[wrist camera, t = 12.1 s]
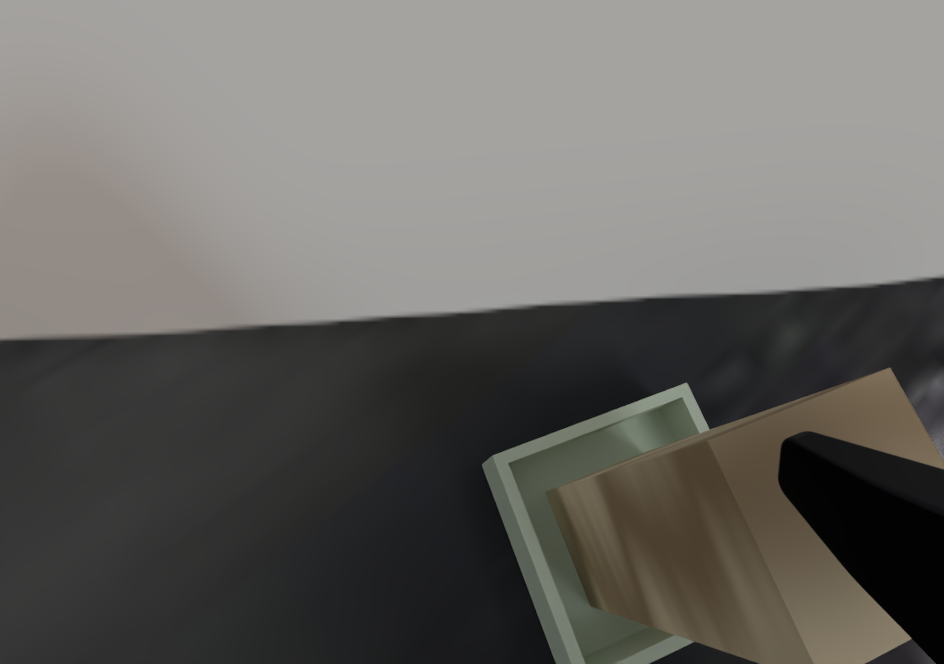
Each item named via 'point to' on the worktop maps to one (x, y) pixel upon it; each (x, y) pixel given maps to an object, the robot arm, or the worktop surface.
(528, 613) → the worktop surface
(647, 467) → the tan wooden block
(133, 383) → the worktop surface
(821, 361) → the worktop surface
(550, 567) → the open square box
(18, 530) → the worktop surface
